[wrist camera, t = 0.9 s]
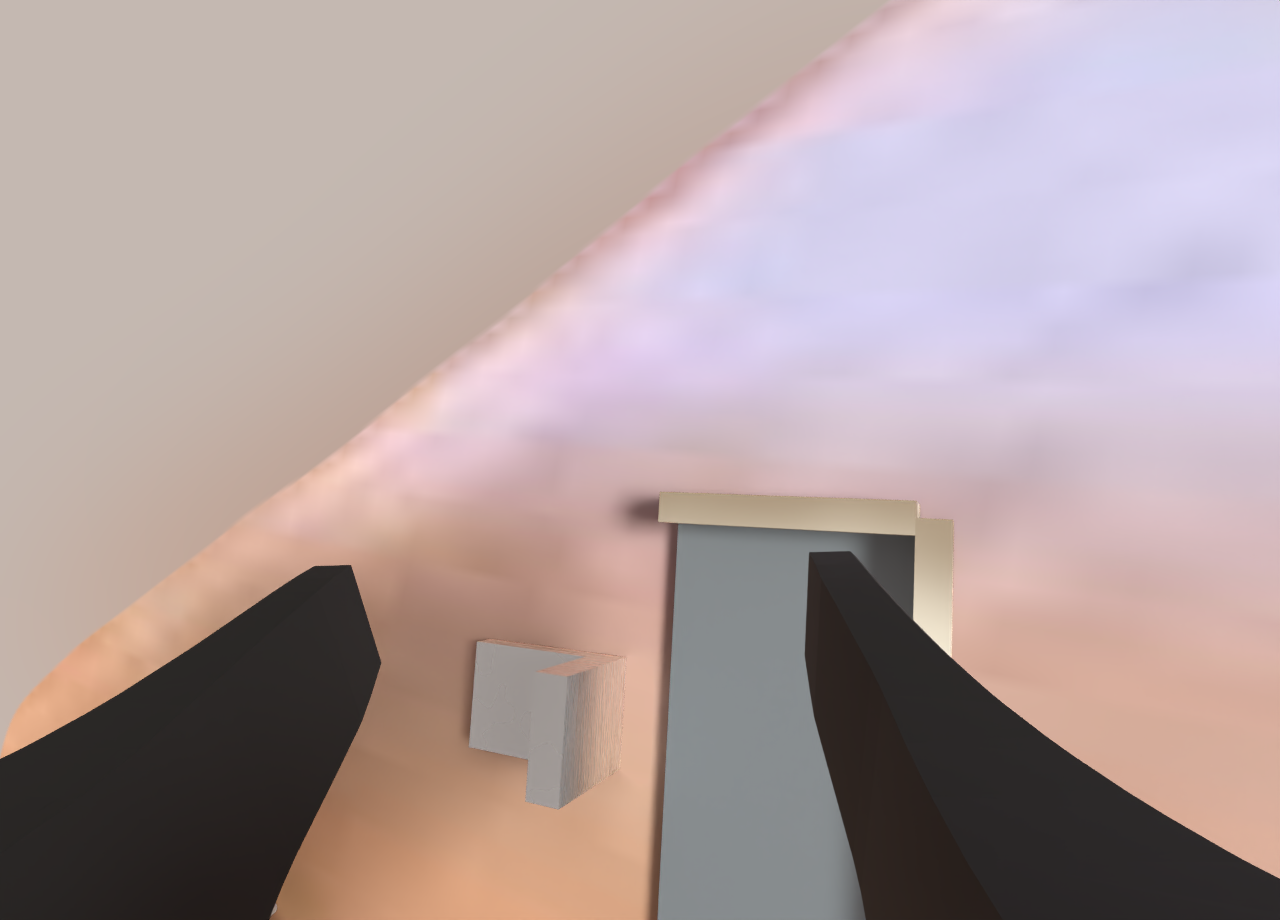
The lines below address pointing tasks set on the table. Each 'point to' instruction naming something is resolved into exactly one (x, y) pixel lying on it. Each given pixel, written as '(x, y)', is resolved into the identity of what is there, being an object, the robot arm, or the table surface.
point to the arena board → (755, 729)
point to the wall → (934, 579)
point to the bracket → (550, 714)
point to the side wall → (791, 512)
